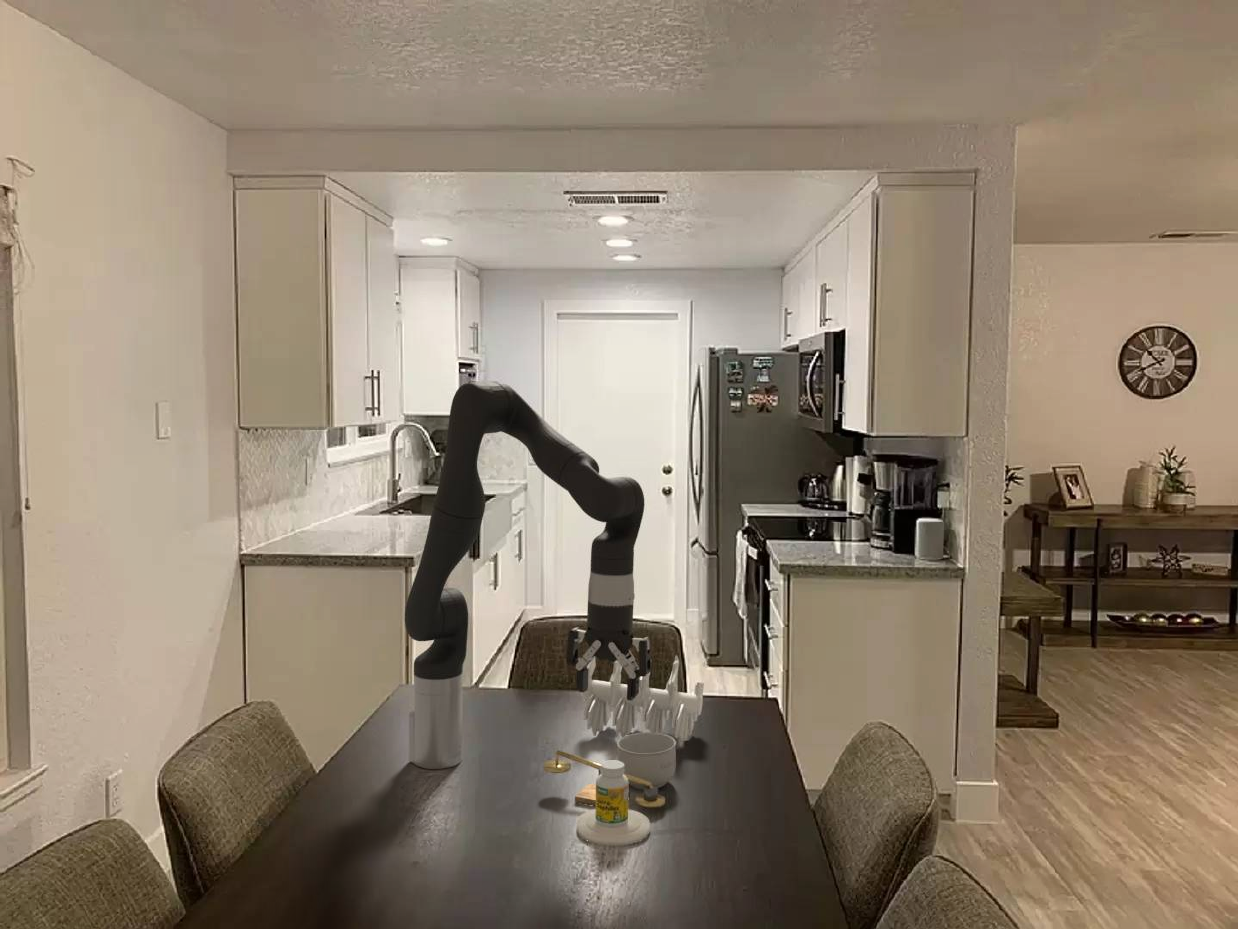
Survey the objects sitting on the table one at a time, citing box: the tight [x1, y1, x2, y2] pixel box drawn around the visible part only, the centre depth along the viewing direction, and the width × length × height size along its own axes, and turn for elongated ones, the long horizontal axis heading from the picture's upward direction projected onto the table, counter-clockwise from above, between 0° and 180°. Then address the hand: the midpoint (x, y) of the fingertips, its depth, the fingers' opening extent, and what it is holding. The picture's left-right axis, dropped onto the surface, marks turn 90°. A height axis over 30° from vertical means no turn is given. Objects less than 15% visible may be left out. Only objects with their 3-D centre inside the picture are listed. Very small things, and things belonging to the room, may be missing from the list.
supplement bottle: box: [595, 759, 630, 827], centre depth 164 cm, size 5×5×10 cm
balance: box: [542, 749, 666, 809], centre depth 175 cm, size 23×6×8 cm, turn 69°
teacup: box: [616, 729, 677, 790], centre depth 185 cm, size 14×11×8 cm
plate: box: [576, 808, 651, 847], centre depth 164 cm, size 12×12×1 cm
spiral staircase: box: [580, 655, 705, 746], centre depth 207 cm, size 18×18×25 cm
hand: (607, 695), depth 165 cm, fingers open, 8 cm apart
